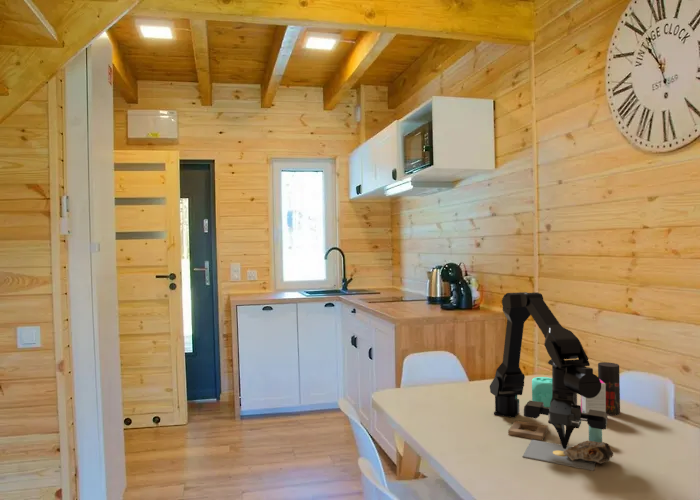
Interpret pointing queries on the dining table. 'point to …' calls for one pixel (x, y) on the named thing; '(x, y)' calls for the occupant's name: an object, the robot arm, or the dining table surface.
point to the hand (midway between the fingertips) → (564, 448)
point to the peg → (595, 434)
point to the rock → (590, 452)
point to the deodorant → (611, 386)
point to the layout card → (554, 455)
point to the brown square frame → (517, 431)
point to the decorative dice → (542, 390)
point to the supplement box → (595, 401)
